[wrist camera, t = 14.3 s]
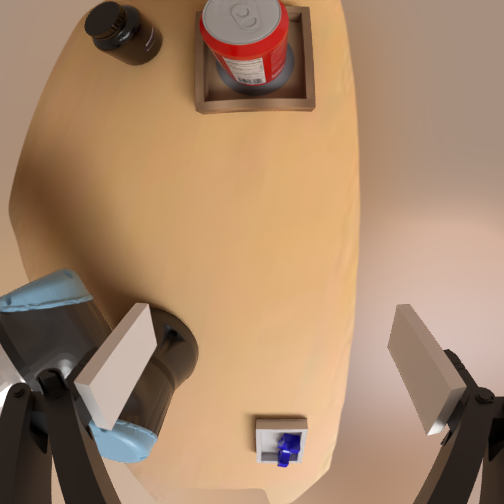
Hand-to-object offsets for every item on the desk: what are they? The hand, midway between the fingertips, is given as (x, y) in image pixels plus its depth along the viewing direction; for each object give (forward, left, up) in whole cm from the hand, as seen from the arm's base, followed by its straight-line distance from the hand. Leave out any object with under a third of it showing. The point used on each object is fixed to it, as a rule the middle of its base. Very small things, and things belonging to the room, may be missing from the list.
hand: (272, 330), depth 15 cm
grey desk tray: (+2, -47, -27) cm, 54 cm away
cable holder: (+3, -49, -26) cm, 55 cm away
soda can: (-2, +21, -26) cm, 33 cm away
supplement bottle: (-18, +26, -27) cm, 42 cm away
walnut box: (-2, +21, -27) cm, 34 cm away
